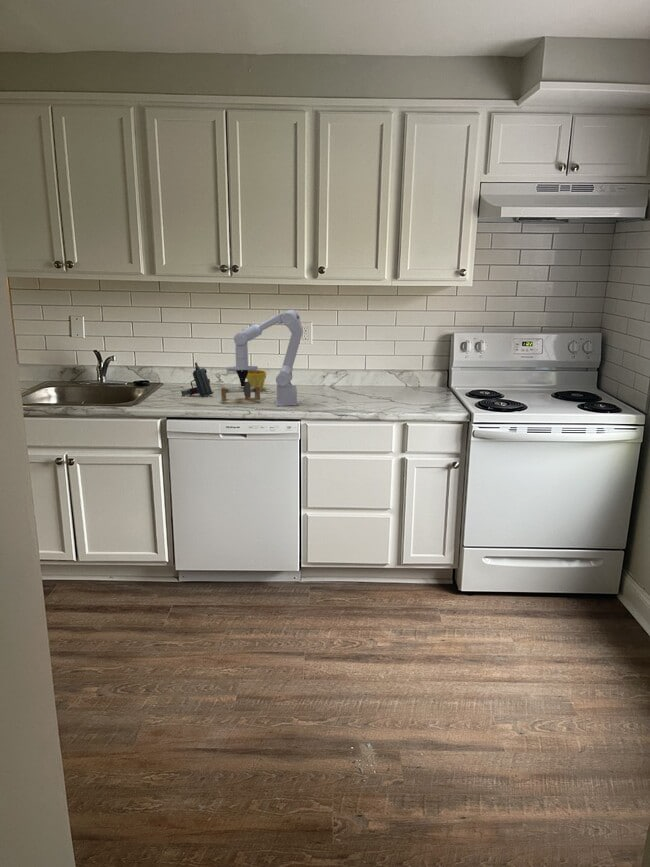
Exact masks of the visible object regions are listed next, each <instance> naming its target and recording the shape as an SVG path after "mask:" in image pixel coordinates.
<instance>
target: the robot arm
mask: <svg viewBox="0 0 650 867" xmlns="http://www.w3.org/2000/svg"><path fill="white" fill-rule="evenodd" d="M277 324H278V325H282V324H283V325H284V326H285V327H287V329H288V330H289V332H290V333H291V335H290V338H289V342H288V344H287V349H286V353H285V356H284V359H283V363H282V366H281V368H280V370H279V373H278V374H277V375H276V377H275V382H276V400H275V401H274V403H275V405H276V406H277V407H280V406H281V407H286V406H298V404H297V403H298V398H297V396H298V392H297V390H298V389H297V385H293V384H292V382H291V381H292V380H293V371H294V370H293V369H294V368H293V367H294V364H295V360H296V357H297V353H298V350H299V348H300V344H301V343H300V342H301V339H302V336H303V333H304V329H303V325H302V321H301V317H300V315H299V313H298V312H297V310H295V309H288V310H286V311H283V312H281V313H277V314H275V315H273V316H272V317H271V318H269V319H267V320H265V321H264V322H262V323H260V324H258V323H251V324H250V325H249V326H248V327H247V328H245V329H244V328H242V329H241V331H239V332H237V333H236V334H235V335H234V337H233V341H234V344H235V349H234V350H235V366H226V372H236V375H237V376H238V379H239V382H240V387H244V383H245V382H246V380H247V379H246V377H247V375H248V371H258V370H259V369H258V368H259V367H258V365H249V348H248V342H250V341H252V340H254V339H256V338H257V337H259V336H262V334H263V331H264V330H267V329H268V328H270V327H272V326H274V325H277Z"/></svg>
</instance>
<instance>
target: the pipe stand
mask: <svg viewBox="0 0 650 867" xmlns="http://www.w3.org/2000/svg"><path fill="white" fill-rule="evenodd" d="M250 390H251V393H253V392H254V397H251V398H245V397H236V398H235V397H234V398H233V397H232V398H229V397H228V398H227V393H228V394H229V393H231V394H233V393H244V392H245V387H244V386H240V387H239V386H238V387H237V386H236V387H234V386H233V387H225V386H220V394H221V396H220V397H221V400H220V401H221V404H222V405H239V404H242V405H243V404H260V403H261V391H260V387H259V386H255V387H250Z"/></svg>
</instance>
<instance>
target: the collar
mask: <svg viewBox="0 0 650 867" xmlns="http://www.w3.org/2000/svg"><path fill="white" fill-rule="evenodd" d="M243 387H245V392H243V394H244V395H243V396H244V398H252V397H251V393H252V392H251V390H250V383H249V381H245V383H244V386H243Z"/></svg>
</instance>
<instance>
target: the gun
mask: <svg viewBox="0 0 650 867" xmlns="http://www.w3.org/2000/svg"><path fill="white" fill-rule="evenodd" d="M194 365H195V368H194V370H193V372H192V378H193V379H192V380H191V381H190V386H191V387H190V388H188V389H185V390H184V389H183V390H181V391H180V392H181V396H182V397H185V396H188V395H189V396H190V397H192V396H193V395H199V396H200V397H201V398H203V397H206V396H211V395H214V391H212V386H211V384H210V383H211V379H210V378H208V375H207V373H208V371H207V369H206V368H205V367H203V368H202V367H201V368H200V366H199V365H198V362H197V361H196V362H194ZM193 382H194V383H195V384H194V383H193ZM194 386H195V387H194Z"/></svg>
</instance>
